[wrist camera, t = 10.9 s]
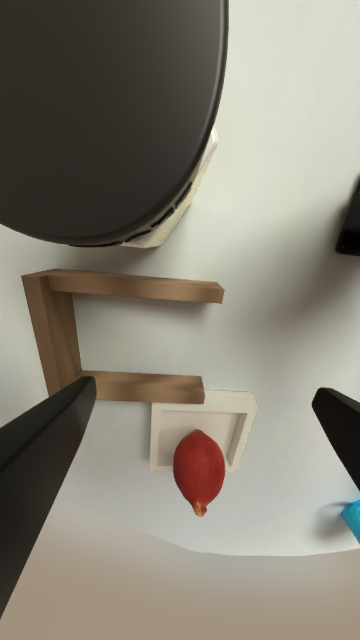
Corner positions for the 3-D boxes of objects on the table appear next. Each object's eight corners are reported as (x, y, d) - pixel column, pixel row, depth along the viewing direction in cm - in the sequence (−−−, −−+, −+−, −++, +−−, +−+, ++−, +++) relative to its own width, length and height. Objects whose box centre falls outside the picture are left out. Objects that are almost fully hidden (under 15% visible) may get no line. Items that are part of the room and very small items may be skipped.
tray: (250, 392, 23) (258, 407, 21) (231, 454, 28) (236, 472, 26) (154, 387, 22) (152, 402, 20) (151, 452, 27) (149, 470, 25)
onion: (216, 445, 25) (225, 532, 18) (175, 441, 26) (167, 524, 19) (224, 419, 23) (237, 509, 16) (177, 414, 23) (169, 500, 16)
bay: (216, 282, 18) (227, 292, 14) (199, 384, 22) (205, 412, 19) (54, 268, 17) (21, 275, 13) (72, 378, 22) (51, 406, 18)
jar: (82, 236, 16) (-125, 219, 5) (76, 109, 13) (-496, -685, 2) (185, 252, 17) (207, 269, 6) (202, 136, 14) (324, -318, 3)
